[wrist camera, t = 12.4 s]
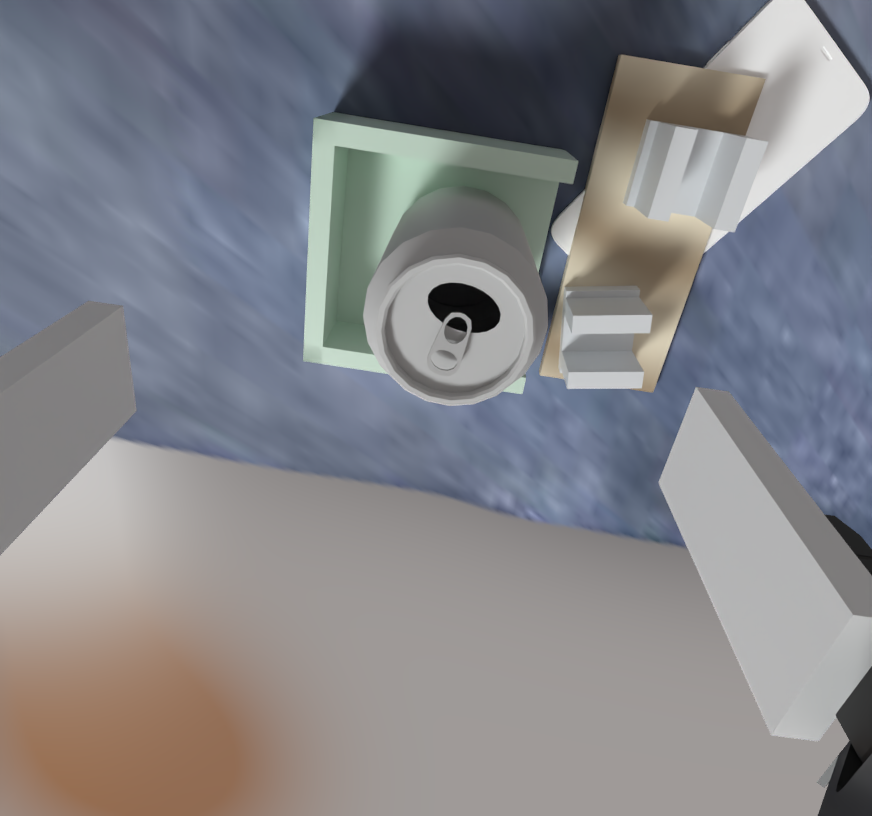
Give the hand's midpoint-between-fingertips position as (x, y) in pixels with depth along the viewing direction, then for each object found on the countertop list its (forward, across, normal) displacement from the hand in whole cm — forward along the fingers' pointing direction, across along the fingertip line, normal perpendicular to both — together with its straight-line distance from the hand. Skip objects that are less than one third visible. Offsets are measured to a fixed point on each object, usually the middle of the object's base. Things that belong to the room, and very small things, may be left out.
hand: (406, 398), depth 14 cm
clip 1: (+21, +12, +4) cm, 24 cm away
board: (+22, +11, 0) cm, 24 cm away
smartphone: (+22, +13, +4) cm, 26 cm away
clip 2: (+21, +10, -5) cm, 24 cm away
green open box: (+22, 0, -2) cm, 22 cm away
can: (+21, +1, -2) cm, 21 cm away
